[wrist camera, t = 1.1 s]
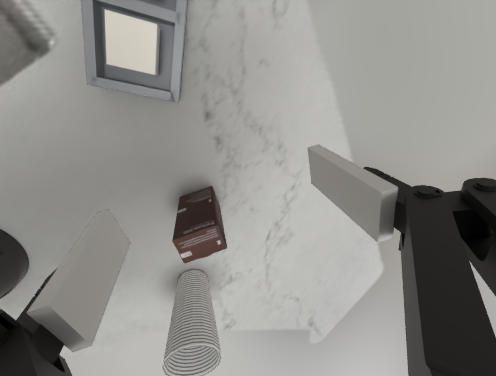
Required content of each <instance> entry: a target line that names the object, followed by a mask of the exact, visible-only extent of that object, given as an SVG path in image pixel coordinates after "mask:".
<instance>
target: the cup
mask: <svg viewBox="0 0 496 376" xmlns="http://www.w3.org/2000/svg"><path fill="white" fill-rule="evenodd" d="M221 357H222V356H221V350H220V345H219V339H218V333H217V328H216V322H215V317H214V311H213V305H212V300H211V294H210V289H209V283H208V278H207V275H206V274H205V273H204V272H203V271H200V270H194V269H193V270H188V271H186V272H184V273H182V275H181V276H180V277H179V279H178V284H177V289H176V295H175V300H174V306H173V311H172V317H171V322H170V328H169V333H168V339H167V345H166V350H165V356H164V361H163V367H162V368H163V370H164V372H165V374H166V375H168V376H203V375H205V374H207V373H209V372H211V371H212V370H214V369H215V368H216V367H217V366H218V365H219V363H220V360H221Z"/></svg>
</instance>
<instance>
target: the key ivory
mask: <svg viewBox="0 0 496 376" xmlns="http://www.w3.org/2000/svg"><path fill="white" fill-rule="evenodd" d="M104 10H105V9H104ZM105 37H106V64H108V65H113V66H117V67H122V68H126V69H131V70H135V71H140V72H144V73H149V74H153V75H158V67H159V45H160V28H159V26H158V25H157V24H155V23H151V22H148V21H144V20H141V19H137V18H134V17H130V16H126V15H123V14H119V13H116V12H112V11H109V10H105Z"/></svg>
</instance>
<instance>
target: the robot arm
mask: <svg viewBox="0 0 496 376" xmlns="http://www.w3.org/2000/svg"><path fill="white" fill-rule="evenodd" d="M308 156H309V165H310V174H311V183H312V184H313V185H314V186H315V187H316V188H317V189H318V190H319V191H321V192H322V193H323V194H324V195H325V196H326V197H327V198H328V199H330V200H331V201H332V202H333V203H334V204H335V205H336V206H337V207H339V208H340V209H341V210H342V211H343V212H344V213H345V214H346V215H347V216H349V217H350V218H351V219H352V220H353V221H354V222H355V223H356V224H358V225H359V226H360V227H361V228H362V229H363V230H364V231H365V232H367V233H368V234H369V235H370V236H371V237H372V238H373V239H374V240H375V241H377V242H378V243H379V242H381V241H384V240H387V239H390V238H392V237H393V231H394V227H395V228H396V229H397V230H399V231H400V232H401V236H400V243H399V250H400V251H401V260H402V277H403V292H404V308H405V326H406V342H407V359H408V374H409V376H496V337H495V334H494V332H493V329H492V326H491V323H490V320H489V317H488V315H487V311H486V308H485V306H484V303H483V300H482V297H481V294H480V291H479V289H478V285H477V282H476V280H475V277H474V274H473V271H472V269H471V265H470V262H471V263H472V265H473V266H474V267H475V269H476V270H477V272H478V273H479V274H480V276H481V277H482V278H483V280H484V281H485V282H486V284H487V285H488V287H489V288H490V289H491V290H492V292H493V293H494V295H495V296H496V180H494V179H487V178H474V179H469V180H466V181H464V183H463V186H462V190H461V191H452V192H443V191H442V190H440V189H438V188H435V187H432V186H425V185H420V186H414V187H411V186H409V185H407V184H405V183H403V182H401V181H399V180H397V179H395V178H393V177H390V176H389V175H387V174H384V173H383V172H381V171H379V170H377V169H373V168H369V167H364V168H361V167H360V166H358V165H356V164H354V163H352V162H350V161H348V160H347V159H345V158H343V157H341V156H339V155H337V154H335V153H334V152H332V151H330V150H328V149H326V148H324V147H322V146H320V145H319V144H318V145H315V146H311V147H308ZM129 245H130V241H129V239H128V237H127V236H126V234H125V233H124V231H123V230H122V228H121V227H120V225H119V224H118V222H117V220H116V219H115V217H114V216H113V214H112V213H111V211H110V210H109V209H108V210H104V211H101V212H98V213H96V214H95V216H94V217H93V219H92V220H91V222H90V223H89V224H88V226H87V227H86V229H85V230H84V231H83V233H82V234H81V236H80V237H79V239H78V240H77V241H76V243H75V244H74V246H73V247H72V249H71V250H70V251H69V253H68V254H67V256H66V257H65V258H64V260H63V261H62V263H61V264H60V266H59V267H58V268H57V269H56V270H55V271H54V272H53V273H52V274H51V275H50V276H48V277H47V279H46V280H45V281H44V283H43V284H42V286H41V289H39V290H38V291H37V293H36V294H35V297H33V298H32V299H31V301H30V302H29V304H28V305H27V306H26V308H25V309H24V311H23V312H22V313H21V315H20V316H19V317H18V319H17V320H15V319H13V318H12V317H11V316H9V315H8V314H7V313H6V312H4V311H3V310H2V309H0V376H72V374H71V372H70V370H69V367H68V365H67V363H66V361H65V359H64V358H62V357H61V356H60V355H59V354H60V352H61V350H62V348H63V346H64V345H65V346H66V347H67V348H68V349H70V350H71V351H72V352H75V351H78V350H81V349H84V348H87V347H89V346H92V344H93V341H94V339H95V336H96V333H97V331H98V328H99V325H100V323H101V320H102V317H103V315H104V312H105V309H106V306H107V304H108V301H109V298H110V296H111V293H112V290H113V288H114V285H115V282H116V280H117V277H118V274H119V272H120V269H121V266H122V264H123V261H124V258H125V256H126V253H127V250H128V248H129ZM469 261H470V262H469ZM27 270H28V259H27V256H26V253H25V252H24V250H23V248H22V247H21V246H20V245H19V244H18V243H17V242H16V241H15V240H14V239H13V238H12V237H10V236H9V235H7V234H6V233H4V232H3V231H1V230H0V299H1V298H2V297H4V296H5V295H7V294H8V293H10V292H11V291H12V290H13V289H14V288H15V287H16V286H17V285H18V283H19V282H20V281H21V280H22V279H23V277H24V276H25V275H26V273H27Z"/></svg>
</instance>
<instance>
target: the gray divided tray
mask: <svg viewBox="0 0 496 376" xmlns="http://www.w3.org/2000/svg"><path fill="white" fill-rule="evenodd" d="M81 6H82V20H83V35H84V49H85V63H86V78H87V85H92V86H97V87H102V88H107V89H112V90H117V91H123V92H128V93H133V94H138V95H143V96H148V97H153V98H158V99H163V100H169V101H174V102H179V100H180V91H181V79H182V67H183V55H184V43H185V31H186V19H187V7H188V0H81ZM104 9H105V10H109V11H112V12H116V13H119V14H123V15H126V16H130V17H134V18H137V19H141V20H144V21H148V22H151V23H155V24H157V25H158V26H159V28H160V45H159V67H158V75H153V74H149V73H144V72H140V71H135V70H131V69H126V68H122V67H117V66H113V65H108V64H106V37H105V10H104Z"/></svg>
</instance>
